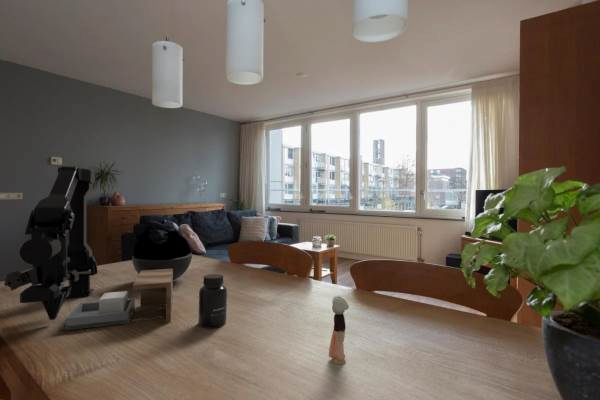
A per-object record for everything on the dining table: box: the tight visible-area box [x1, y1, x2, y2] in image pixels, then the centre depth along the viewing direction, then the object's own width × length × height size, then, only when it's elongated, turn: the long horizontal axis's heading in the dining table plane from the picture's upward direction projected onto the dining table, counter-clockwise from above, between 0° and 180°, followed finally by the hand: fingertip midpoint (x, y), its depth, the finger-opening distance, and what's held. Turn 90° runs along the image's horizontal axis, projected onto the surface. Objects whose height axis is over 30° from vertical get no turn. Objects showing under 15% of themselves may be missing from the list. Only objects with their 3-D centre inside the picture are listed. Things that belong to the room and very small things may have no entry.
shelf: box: [132, 269, 174, 324], centre depth 86 cm, size 15×8×10 cm, turn 20°
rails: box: [61, 306, 166, 330], centre depth 83 cm, size 8×23×1 cm, turn 110°
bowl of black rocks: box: [131, 229, 193, 281], centre depth 115 cm, size 20×20×19 cm
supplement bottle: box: [198, 273, 228, 329], centre depth 80 cm, size 7×7×12 cm
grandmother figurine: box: [328, 295, 350, 365], centre depth 63 cm, size 8×4×13 cm, turn 5°
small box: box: [98, 290, 129, 314], centre depth 82 cm, size 6×6×5 cm
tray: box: [65, 297, 136, 331], centre depth 82 cm, size 11×13×3 cm
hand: (52, 319), depth 78 cm, fingers closed
